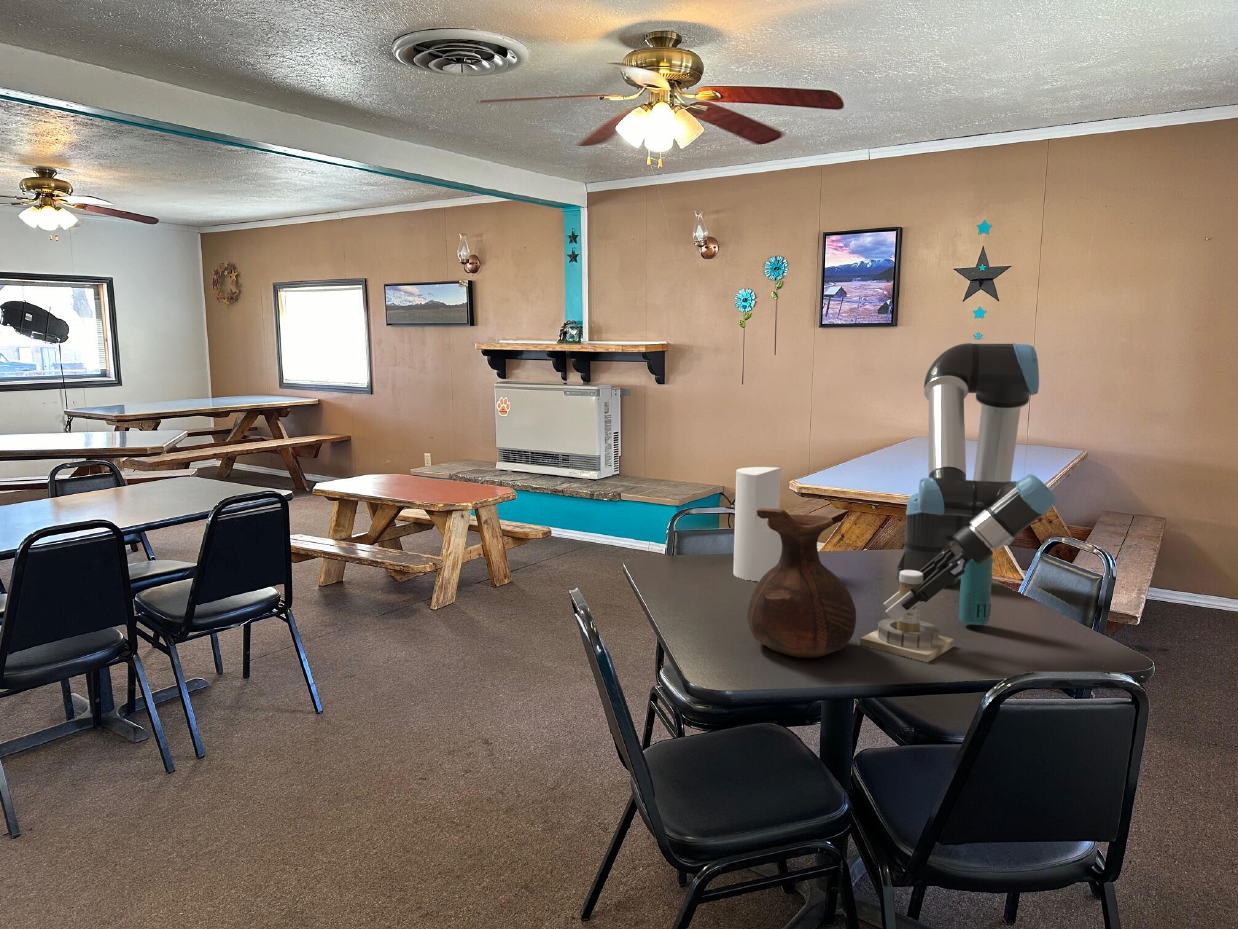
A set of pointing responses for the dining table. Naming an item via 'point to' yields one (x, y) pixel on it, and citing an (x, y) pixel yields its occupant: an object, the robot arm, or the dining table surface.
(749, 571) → the white tall prism
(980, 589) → the beverage bottle
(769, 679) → the dining table surface
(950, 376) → the robot arm
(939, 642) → the plate
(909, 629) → the sprinkles bottle
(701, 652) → the dining table surface
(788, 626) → the jug
